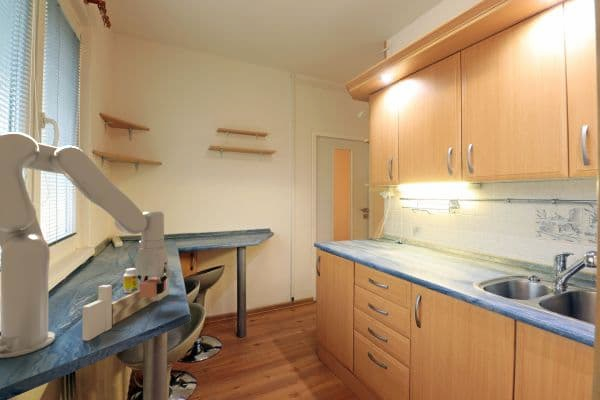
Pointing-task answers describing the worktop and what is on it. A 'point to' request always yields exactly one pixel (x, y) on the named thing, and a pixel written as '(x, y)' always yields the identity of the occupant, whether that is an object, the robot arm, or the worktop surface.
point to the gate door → (129, 306)
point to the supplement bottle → (130, 281)
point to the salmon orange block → (149, 287)
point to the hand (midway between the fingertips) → (153, 292)
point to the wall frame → (104, 312)
